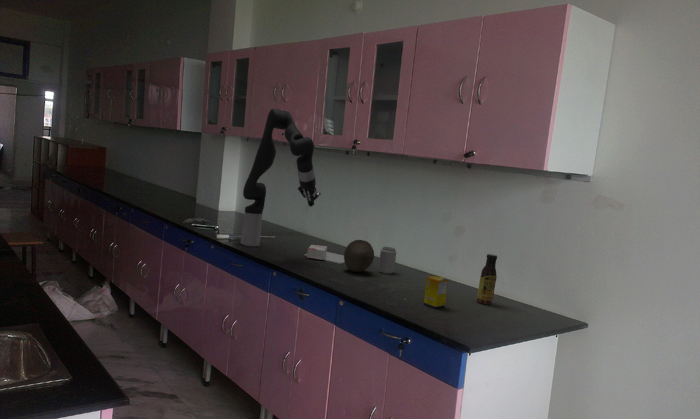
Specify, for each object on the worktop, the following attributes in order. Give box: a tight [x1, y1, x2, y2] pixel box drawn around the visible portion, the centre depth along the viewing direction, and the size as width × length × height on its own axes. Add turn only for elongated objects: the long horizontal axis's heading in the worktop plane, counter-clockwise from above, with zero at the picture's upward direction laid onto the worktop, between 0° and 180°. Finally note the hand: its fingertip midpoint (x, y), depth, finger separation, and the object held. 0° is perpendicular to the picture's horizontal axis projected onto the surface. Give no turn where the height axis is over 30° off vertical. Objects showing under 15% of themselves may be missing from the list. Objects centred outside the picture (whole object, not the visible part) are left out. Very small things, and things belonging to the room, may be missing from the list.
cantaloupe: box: [343, 239, 375, 273], centre depth 247 cm, size 14×14×15 cm
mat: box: [303, 251, 345, 265], centre depth 276 cm, size 22×18×1 cm
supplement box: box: [423, 275, 449, 309], centre depth 204 cm, size 6×6×11 cm
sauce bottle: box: [476, 253, 498, 306], centre depth 216 cm, size 7×6×20 cm
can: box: [377, 246, 397, 275], centre depth 254 cm, size 8×8×12 cm
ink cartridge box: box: [306, 244, 328, 261], centre depth 272 cm, size 9×5×15 cm
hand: (311, 205), depth 261 cm, fingers closed
